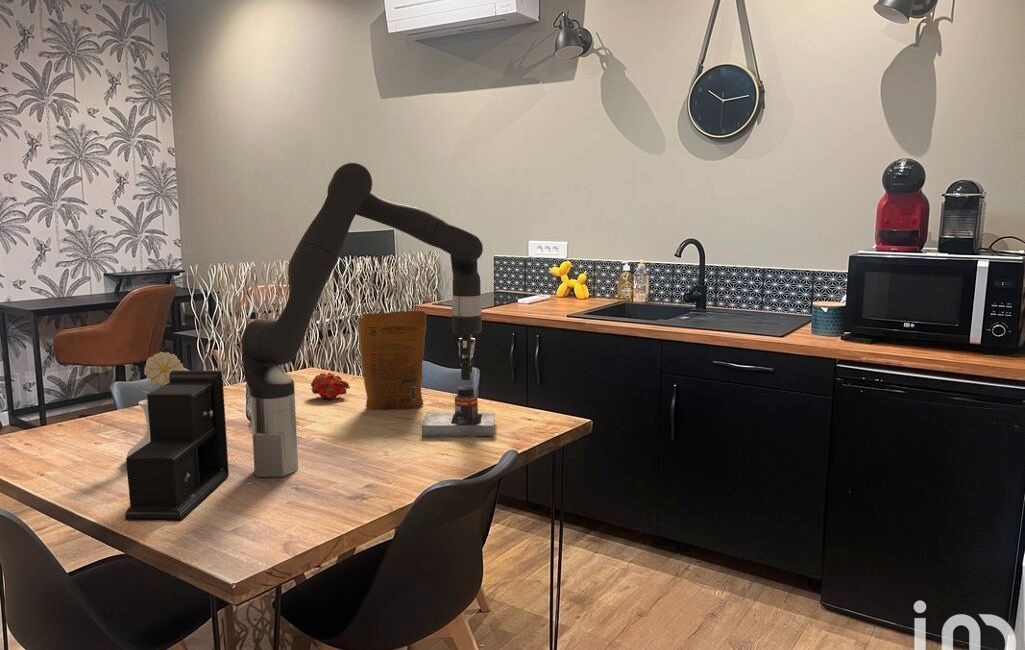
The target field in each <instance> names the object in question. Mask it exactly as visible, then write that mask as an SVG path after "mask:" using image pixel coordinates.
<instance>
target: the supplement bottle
mask: <svg viewBox="0 0 1025 650" xmlns="http://www.w3.org/2000/svg"><path fill="white" fill-rule="evenodd" d="M474 393H475V390H474V386H472V385H462V386H459V387H457V394H456V395H455V397H454V412H455V424H478V412H479V403H478V400H479V399H478V396H477V395H476V394H474Z"/></svg>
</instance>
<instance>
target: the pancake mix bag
mask: <svg viewBox="0 0 1025 650" xmlns="http://www.w3.org/2000/svg"><path fill="white" fill-rule="evenodd" d="M426 330H427V312H425V311H422V310H407V311H406V310H405V311H391V312H390V311H389V312H383V313H382V312H378V313H377V312H376V313H362V317H358V318H357V331H358V347H359V348H358V349H359V350H358V351H359V354H360V363H361V367H362V368H361V369H362V373H363V374H362V375H363V381H364V383H363V385H364V388H365V393H366V403H365V407H366V408H367V407H368V409H370V408H373V409H372V410H377V409H379V410H395V408H401V409H416V408H415V407H417V408H420V407H422V405H423V406H424V400H423V396H422V380H423V360H424V354H425V345H426V341H425V340H426V338H425V337H426ZM419 406H420V407H419Z"/></svg>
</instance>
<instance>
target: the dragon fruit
mask: <svg viewBox="0 0 1025 650" xmlns="http://www.w3.org/2000/svg"><path fill="white" fill-rule="evenodd" d="M310 386H311V389H310V390H311V393H312V394H315V395H318V396H320V398H321V399H322V400H324V399H325V398H328V399H331V400H334V401H335V399H336V400H339V399H342V397H341V396H342V395H347V390H348V389H350V388H351V387H350V384H349V383H348V382H347V381H345V380H343V379H342V378H341V376H339V375H336V374H335V373H331V372H328V373H326V372H324V373H323V372H321V373H319V374H317V375H315V377H314V378H313V379H312V382H311V383H310ZM337 396H339V397H337Z"/></svg>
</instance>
